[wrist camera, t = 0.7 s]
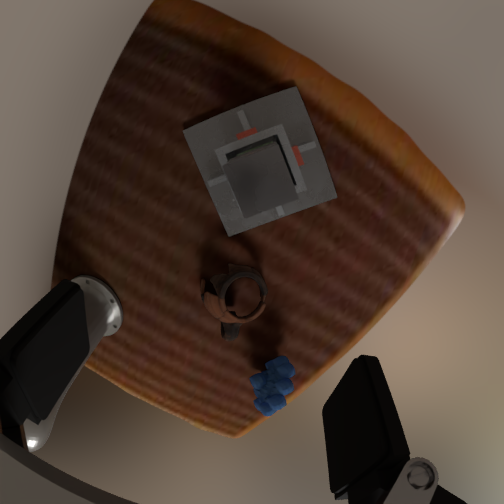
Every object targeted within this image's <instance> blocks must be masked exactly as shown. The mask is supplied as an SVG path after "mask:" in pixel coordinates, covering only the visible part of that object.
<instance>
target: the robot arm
mask: <svg viewBox="0 0 504 504" xmlns="http://www.w3.org/2000/svg"><path fill="white" fill-rule="evenodd" d="M122 321H123V311H122V307H121V304H120V301H119V300H118V298H117V296H116V295H115V293H114V292H113V291H112V290H111V288H110V287H109V286H108V285H106V284H105V283H104V282H102V281H101V280H99V279H97V278H95V277H92V276H88V275H80V276H77V277H75V278H74V279H72V280H71V281H69V280H67V279H64V280H62V281H61V282H60V283H59V284H58V285H57V286H55V287H54V288H53V289H52V290H51V291H50V292H49V293H48V294H46V295H45V296H44V297H43V298H42V299H41V300H40V301H39V302H38V303H37V304H36V305H35V306H34V307H33V308H31V309H30V310H29V311H28V312H27V313H26V314H25V315H24V316H23V317H22V318H21V319H20V320H19V321H18V322H17V323H16V324H15V325H14V326H13V327H12V328H11V329H10V330H9V331H8V332H7V333H6V334H5V335H4V336H3V337H2V338H1V339H0V504H138V503H135V502H132V501H129V500H126V499H123V498H121V497H118V496H116V495H113V494H111V493H108V492H106V491H103V490H101V489H98V488H96V487H94V486H92V485H89V484H87V483H85V482H83V481H81V480H79V479H77V478H75V477H73V476H71V475H69V474H67V473H65V472H63V471H61V470H59V469H57V468H55V467H53V466H52V465H50V464H48V463H47V462H45V461H43V460H41V459H40V458H38V457H37V456H35V455H33V454H32V453H30V452H32V451H36V450H38V449H40V448H41V447H42V446H43V445H44V443H45V442H46V440H47V438H48V437H49V434H50V432H51V429H52V426H53V423H54V420H55V417H56V414H57V411H58V409H59V406H60V404H61V402H62V400H63V398H64V396H65V394H66V392H67V391H68V389H69V387H70V386H71V384H72V382H73V381H74V379H75V378H76V376H77V375H78V373H79V372H80V370H81V369H82V367H83V366H84V364H85V362H86V361H87V359H88V358H89V356H90V355H91V353H92V352H93V350H94V349H95V348H96V346H97V345H98V343H99V342H100V340H101V339H102V337H103V336H109V335H112V334H114V333H115V332H116V331H117V330H118V329H119V328H120V326H121V324H122ZM322 416H323V425H324V433H325V441H326V451H327V461H328V471H329V482H330V490H331V492H332V493H334V494H335V500H340V499H341V500H342V499H348V503H349V504H467V503H466V502H465V501H463V500H461V499H460V498H458V497H457V496H455V495H453V494H451V493H450V492H448V491H447V490H445V489H444V488H442V487H441V486H439V485H438V479H439V478H438V472H437V470H436V467H435V466H434V465H433V464H432V463H431V462H430V461H429V460H427V459H425V458H420V457H416V458H412V459H411V460H410V456H409V455H410V451H409V448H408V445H407V441H406V438H405V435H404V431H403V428H402V425H401V422H400V419H399V416H398V413H397V410H396V407H395V404H394V401H393V398H392V395H391V392H390V390H389V387H388V384H387V381H386V378H385V376H384V373H383V370H382V368H381V365H380V362H379V360H378V358H377V357H375V356H368V355H360V356H359V357H358V358H355V359H354V360H353V361H352V363H351V364H350V366H349V368H348V369H347V371H346V372H345V374H344V376H343V377H342V379H341V380H340V382H339V383H338V385H337V386H336V388H335V390H334V391H333V393H332V394H331V396H330V397H329V399H328V400H327V402H326V403H325V404H324V406H323V410H322Z"/></svg>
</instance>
